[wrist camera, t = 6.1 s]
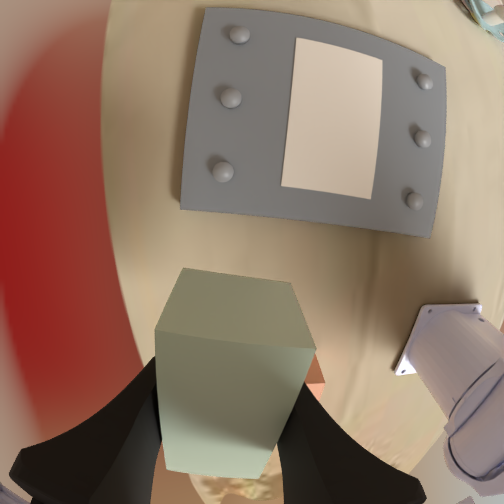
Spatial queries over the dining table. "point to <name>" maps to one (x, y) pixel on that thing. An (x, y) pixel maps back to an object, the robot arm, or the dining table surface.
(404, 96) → the baseplate
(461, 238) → the dining table surface
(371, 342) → the dining table surface
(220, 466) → the sage brick
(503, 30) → the pacifier
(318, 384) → the terracotta brick
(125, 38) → the dining table surface
